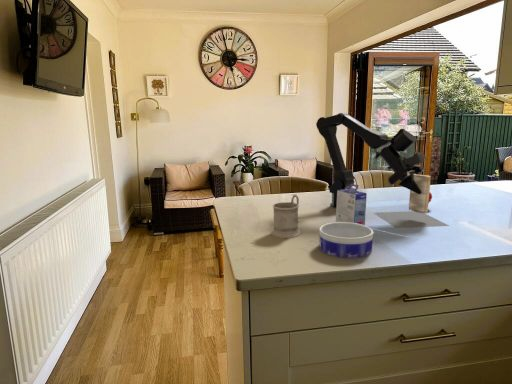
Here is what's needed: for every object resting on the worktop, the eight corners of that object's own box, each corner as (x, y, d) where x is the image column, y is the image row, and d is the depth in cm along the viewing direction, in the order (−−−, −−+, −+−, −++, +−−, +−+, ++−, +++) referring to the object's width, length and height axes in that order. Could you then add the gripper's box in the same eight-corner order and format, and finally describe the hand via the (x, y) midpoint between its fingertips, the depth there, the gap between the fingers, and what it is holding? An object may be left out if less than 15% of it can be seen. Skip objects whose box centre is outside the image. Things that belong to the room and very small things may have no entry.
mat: (395, 228, 122) (395, 227, 122) (373, 213, 142) (373, 212, 142) (449, 226, 124) (449, 225, 123) (419, 211, 143) (419, 210, 143)
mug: (292, 239, 114) (292, 203, 111) (265, 235, 119) (265, 199, 117) (310, 227, 126) (311, 194, 123) (285, 223, 131) (285, 191, 128)
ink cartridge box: (366, 226, 125) (367, 186, 123) (354, 229, 123) (355, 188, 120) (346, 220, 134) (348, 182, 131) (335, 222, 132) (336, 183, 129)
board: (408, 209, 132) (411, 174, 129) (411, 208, 133) (413, 174, 131) (425, 212, 128) (428, 176, 125) (427, 211, 129) (430, 175, 127)
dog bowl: (381, 257, 99) (382, 236, 97) (326, 260, 98) (327, 239, 96) (360, 239, 114) (361, 220, 112) (313, 241, 112) (313, 222, 111)
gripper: (398, 147, 123) (429, 183, 117) (421, 143, 135) (449, 175, 130) (376, 168, 130) (404, 202, 124) (399, 162, 142) (425, 193, 137)
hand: (422, 193), depth 129 cm, fingers closed on board, 2 cm apart
